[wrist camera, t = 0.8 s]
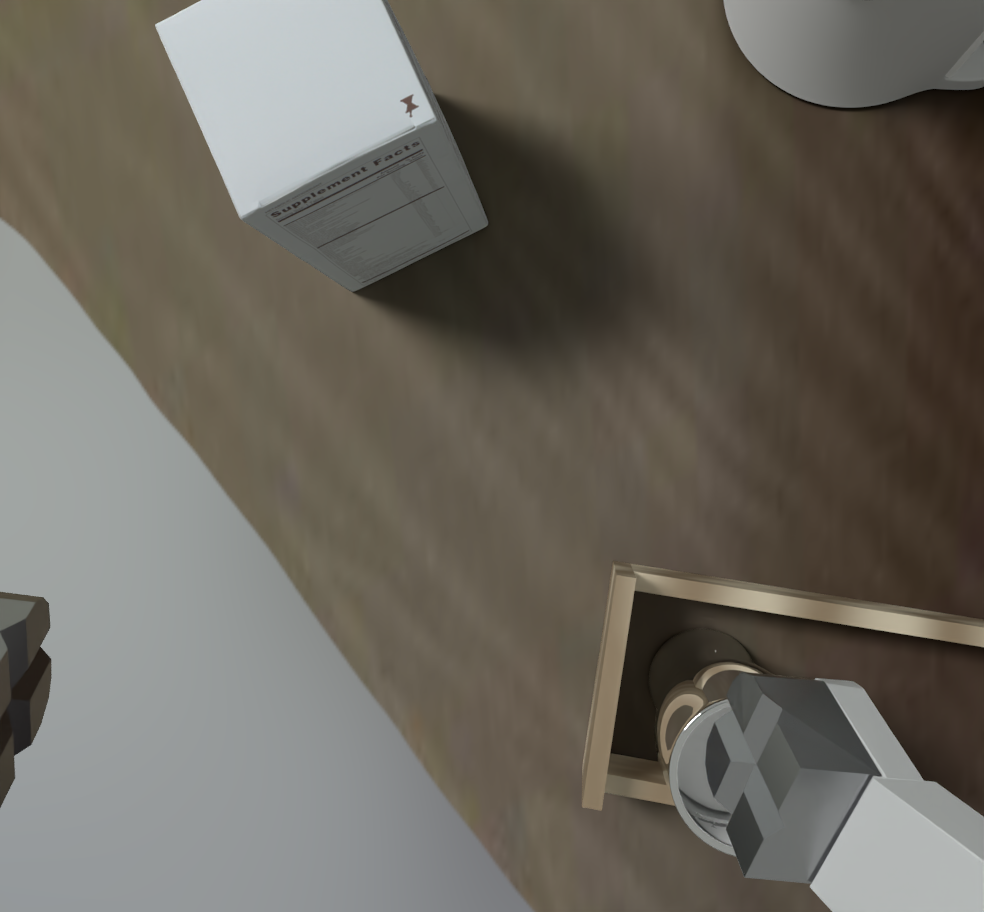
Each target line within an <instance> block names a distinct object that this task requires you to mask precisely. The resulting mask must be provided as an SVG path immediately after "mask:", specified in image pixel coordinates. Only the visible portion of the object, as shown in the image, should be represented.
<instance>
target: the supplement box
mask: <svg viewBox="0 0 984 912" xmlns="http://www.w3.org/2000/svg"><path fill="white" fill-rule="evenodd" d="M155 27H156V29H157V31H158V34H159V36H160V38H161V40H162V43H163V45H164V47H165V49H166V52H167V54H168V56H169V58H170V61H171V63H172V65H173V67H174V70H175V72H176V74H177V76H178V78H179V81H180V83H181V85H182V87H183V89H184V92H185V94H186V96H187V98H188V101H189V103H190V105H191V107H192V110H193V112H194V114H195V117H196V119H197V121H198V123H199V126H200V128H201V130H202V132H203V135H204V137H205V139H206V141H207V144H208V146H209V148H210V151H211V153H212V155H213V157H214V160H215V162H216V164H217V166H218V169H219V171H220V173H221V175H222V178H223V180H224V182H225V185H226V187H227V189H228V192H229V194H230V196H231V199H232V201H233V203H234V206H235V208H236V210H237V213H238V215H239V217H240V219H241V220H243V221H244V222H246V223H247V224H248V225H250V226H251V227H253V228H254V229H256V230H258V231H259V232H261V233H262V234H264V235H265V236H267V237H268V238H270V239H271V240H273V241H274V242H276V243H277V244H279V245H281V246H282V247H284V248H285V249H286V250H288V251H289V252H291V253H292V254H294V255H295V256H297V257H298V258H300V259H301V260H303V261H305V262H307V263H308V264H310V265H311V266H313V267H314V268H315V269H317V270H319V271H320V272H322V273H323V274H325V275H326V276H328V277H329V278H331V279H332V280H334V281H335V282H337V283H338V284H340V285H341V286H343V287H344V288H346V289H347V290H349V291H351V292H354V291H357V290H359V289H361V288H363V287H365V286H367V285H369V284H372V283H374V282H376V281H378V280H380V279H382V278H384V277H386V276H388V275H390V274H392V273H394V272H396V271H398V270H400V269H402V268H404V267H406V266H408V265H410V264H412V263H414V262H416V261H418V260H420V259H422V258H424V257H426V256H428V255H430V254H432V253H434V252H436V251H438V250H440V249H442V248H444V247H446V246H448V245H450V244H452V243H454V242H457V241H459V240H461V239H463V238H465V237H467V236H469V235H471V234H473V233H475V232H477V231H479V230H481V229H483V228H484V227H486V226H487V225H488V220H487V217H486V215H485V212H484V209H483V207H482V204H481V202H480V199H479V197H478V194H477V192H476V190H475V187H474V185H473V183H472V180H471V178H470V175H469V173H468V170H467V168H466V165H465V163H464V160H463V158H462V156H461V153H460V151H459V149H458V146H457V144H456V142H455V140H454V137H453V135H452V133H451V131H450V128H449V126H448V124H447V122H446V119H445V117H444V115H443V113H442V111H441V109H440V107H439V104H438V102H437V100H436V98H435V96H434V94H433V92H432V89H431V87H430V84H429V82H428V80H427V78H426V76H425V75H424V73H423V71H422V69H421V67H420V65H419V63H418V61H417V58H416V56H415V54H414V52H413V50H412V48H411V46H410V44H409V42H408V40H407V38H406V36H405V34H404V32H403V30H402V28H401V26H400V24H399V22H398V20H397V18H396V16H395V15H394V13H393V11H392V9H391V7H390V5H389V3H388V1H387V0H201V1H199V2H197V3H195V4H194V5H192V6H190V7H188V8H186V9H184V10H182V11H180V12H178V13H177V14H175V15H173V16H171V17H169V18H167V19H165V20H163V21H161V22H159V23H157V24H156V25H155Z"/></svg>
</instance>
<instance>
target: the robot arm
mask: <svg viewBox="0 0 984 912" xmlns="http://www.w3.org/2000/svg"><path fill="white" fill-rule="evenodd" d="M724 7H725V11H726V16H727V19H728V23H729V26H730V28H731V31H732V33H733V36H734V38H735V40H736V42H737V43H738V45H739V47H740V49H741V50H742V52H743V53H744V55H745V56H746V58H747V59H748V60H749V61H750V62H751V64H752V65H753V66H754V67H755V68H756V69H757V70H758V71H759V72H760V73H761V74H762V75H763V76H764V77H765V78H767V79H768V80H769V81H770V82H772V83H773V84H775V85H776V86H778V87H779V88H781V89H782V90H784V91H786V92H788V93H790V94H792V95H794V96H796V97H798V98H801V99H804V100H806V101H809V102H813V103H816V104H821V105H826V106H832V107H843V108H856V107H868V106H875V105H879V104H884V103H888V102H891V101H895V100H897V99H900V98H903V97H906V96H909V95H911V94H914V93H917V92H921V91H924V90H929V89H946V90H972V89H978V88H982V87H984V42H983V41H984V0H724ZM49 629H50V615H49V603H48V602H47V601H46V600H45V599H44V598H43V597H36V596H28V595H20V594H12V593H5V592H0V807H1V805H2V803H3V801H4V799H5V797H6V795H7V793H8V791H9V789H10V787H11V785H12V783H13V781H14V779H15V768H14V756H15V755H16V754H18V753H19V752H21V751H22V750H24V749H26V748H27V747H29V746H30V745H31V744H32V742H33V740H34V738H35V736H36V734H37V731H38V729H39V727H40V725H41V723H42V719H43V716H44V712H45V709H46V705H47V702H48V698H49V692H50V684H51V658H50V657H49V656H48V655H47V654H46V653H45V651H43V649H42V648H41V647H40V645H41V644H42V642H43V640H44V638H45V636H46V634H47V633H48V631H49ZM726 696H727V699H728V701H729V704H730V706H731V709H732V710H730V711H729V712H728V713H726V714H725V715H723V716H722V717H721V718H719V719H718V720H716V721H715V722H714V724H713V727H712V730H711V732H710V735H709V737H708V740H707V745H706V759H705V766H706V772H707V779H708V783H709V786H710V788H711V791H712V794H713V797H714V799H715V800H717V801H718V802H719V803H720V804H721V805H722V806H723V807H724V808H725V809H726V810H727V811H728V812H729V813H731V814H732V815H731V818H730V820H729V822H728V825H727V827H726V831H727V834H728V836H729V839H730V841H731V844H732V846H733V849H734V852H735V854H736V857H737V859H738V862H739V864H740V867H741V870H742V872H743V875H744V877H745V878H756V879H767V880H778V881H789V882H800V883H811V886H810V888H811V889H812V890H813V891H814V892H815V893H816V894H817V895H818V896H819V898H820V899H821V900H822V901H823V902H824V903H825V904H826V905H827V906H828V907H829V908H830V910H831V911H832V912H984V817H983V816H982V815H980V814H979V813H978V812H976V811H975V810H973V809H972V808H971V807H969V806H968V805H967V804H965V803H964V802H962V801H961V800H960V799H958V798H957V797H956V796H954V795H953V794H951V793H950V792H949V791H947V790H946V789H945V788H943V787H942V786H940V785H939V784H938V783H936V782H932V781H924V780H923V778H922V777H921V775H920V774H919V772H918V771H917V769H916V768H915V766H914V765H913V763H912V762H911V760H910V759H909V757H908V756H907V754H906V753H905V751H904V750H903V748H902V747H901V745H900V744H899V742H898V740H897V739H896V737H895V736H894V734H893V733H892V731H891V730H890V728H889V727H888V725H887V724H886V722H885V721H884V719H883V718H882V716H881V715H880V713H879V712H878V710H877V709H876V707H875V706H874V704H873V702H872V701H871V699H870V698H869V696H868V695H867V693H866V692H865V690H864V689H863V688H862V687H861V686H859V685H858V684H856V683H855V682H853V681H844V680H832V679H820V678H816V679H809V678H799V677H789V676H779V675H769V674H759V673H749V672H741V673H740V674H739V675H738V676H737V677H736V678H735V679H734V680H733V681H732V684H731V686H730V688H729V690H728V692H727V695H726Z"/></svg>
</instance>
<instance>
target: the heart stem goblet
mask: <svg viewBox="0 0 984 912" xmlns="http://www.w3.org/2000/svg"><path fill="white" fill-rule="evenodd" d="M741 672H749V673H759V674H769V675H773V674H772V673H771V672H769V671H767V670H765V669H764V668H762V667H760V666H758V665H756V664H754V662H753V660H752V658H751V656H750V655H749V653H748V652H747V650H746V649H745V648H744V647H743V646H742V645H741V644H740V643H739V642H738V641H736V640H735V639H734V638H732V637H730V636H729V635H727V634H724V633H722V632H719V631H716V630H711V629H693V630H688V631H685V632H682V633H680V634H677V635H675V636H674V637H672V638H671V639H669V640H668V641H667V642H666V643H665V644H664V645H663V646H662V647H661V648H660V649H659V651H658V652H657V654H656V655H655V657H654V659H653V661H652V664H651V668H650V672H649V689H650V694H651V697H652V700H653V703H654V705H655V707H656V708H657V712H656V718H655V727H654V737H655V745H656V753H657V758H658V762H659V765H660V768H661V772H662V775H663V777H664V780H665V782H666V785H667V787H668V789H669V791H670V793H671V795H672V798H673V801H674V804H675V806H676V808H677V810H678V812H679V814H680V816H681V818H682V819H683V821H684V822H685V823H686V825H687V826H688V827H689V828H690V829H691V831H692V832H693V833H694V834H695V835H696V836H698V837H699V838H700V839H701V840H702V841H704V842H705V843H707V844H708V845H710V846H711V847H713V848H715V849H717V850H719V851H721V852H723V853H726V854H729V855H732V856H736V854H735V852H734V849H733V846H732V844H731V841H730V839H729V836H728V834H727V831H726V827H727V825H728V822H729V820H730V818H731V815H732V814H731V813H729V812H728V811H727V810H726V809H725V808H724V807H723V806H722V805H721V804H720V803H719V802H718V801H717V800H715V799H714V797H713V794H712V791H711V788H710V786H709V783H708V779H707V772H706V766H705V759H706V745H707V740H708V737H709V735H710V732H711V730H712V727H713V724H714V722H715V721H716V720H718V719H719V718H721V717H722V716H723V715H725V714H726V713H728V712H729V711H730V710H732V709H731V706H730V704H729V701H728V699H727V696H726V695H727V692H728V690H729V688H730V686H731V684H732V681H733V680H734V679H735V678H736V677H737V676H738V675H739V674H740V673H741Z"/></svg>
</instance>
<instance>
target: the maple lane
mask: <svg viewBox="0 0 984 912" xmlns="http://www.w3.org/2000/svg"><path fill="white" fill-rule="evenodd" d="M634 591H640V592H646V593H652V594H659V595H665V596H671V597H677V598H683V599H689V600H696V601H702V602H708V603H714V604H720V605H726V606H733V607H739V608H745V609H751V610H757V611H764V612H770V613H776V614H782V615H788V616H794V617H801V618H807V619H813V620H819V621H825V622H831V623H838V624H844V625H850V626H856V627H862V628H869V629H875V630H881V631H887V632H893V633H899V634H906V635H912V636H918V637H924V638H930V639H936V640H943V641H949V642H955V643H961V644H967V645H973V646H980V647H984V620H983V619H977V618H971V617H964V616H958V615H952V614H945V613H939V612H933V611H927V610H920V609H914V608H908V607H901V606H895V605H889V604H882V603H876V602H870V601H864V600H857V599H851V598H845V597H838V596H832V595H826V594H819V593H813V592H807V591H801V590H794V589H788V588H782V587H775V586H769V585H763V584H756V583H750V582H744V581H738V580H731V579H725V578H719V577H712V576H706V575H700V574H693V573H687V572H681V571H675V570H668V569H662V568H656V567H649V566H643V565H637V564H630V563H624V562H618V561H613V564H612V571H611V578H610V585H609V591H608V598H607V605H606V611H605V618H604V625H603V631H602V638H601V645H600V652H599V658H598V665H597V672H596V678H595V685H594V692H593V699H592V705H591V712H590V719H589V725H588V732H587V739H586V746H585V752H584V759H583V770H582V807H585V808H590V809H595V810H601V811H602V804H603V798H604V793H610V794H615V795H620V796H626V797H631V798H636V799H642V800H647V801H653V802H658V803H663V804H669V805H674V806H675V804H674V801H673V798H672V795H671V793H670V791H669V789H668V787H667V785H666V782H665V780H664V777H663V775H662V772H661V768H660V765H659V762H657V761H652V760H646V759H641V758H635V757H630V756H624V755H619V754H613V753H610V751H611V744H612V737H613V731H614V724H615V717H616V711H617V704H618V697H619V691H620V684H621V677H622V671H623V664H624V657H625V650H626V644H627V637H628V630H629V624H630V617H631V610H632V604H633V597H634Z"/></svg>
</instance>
